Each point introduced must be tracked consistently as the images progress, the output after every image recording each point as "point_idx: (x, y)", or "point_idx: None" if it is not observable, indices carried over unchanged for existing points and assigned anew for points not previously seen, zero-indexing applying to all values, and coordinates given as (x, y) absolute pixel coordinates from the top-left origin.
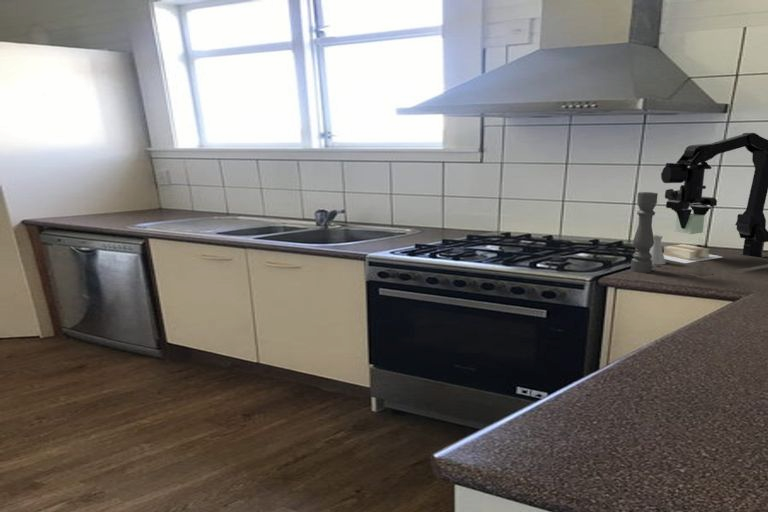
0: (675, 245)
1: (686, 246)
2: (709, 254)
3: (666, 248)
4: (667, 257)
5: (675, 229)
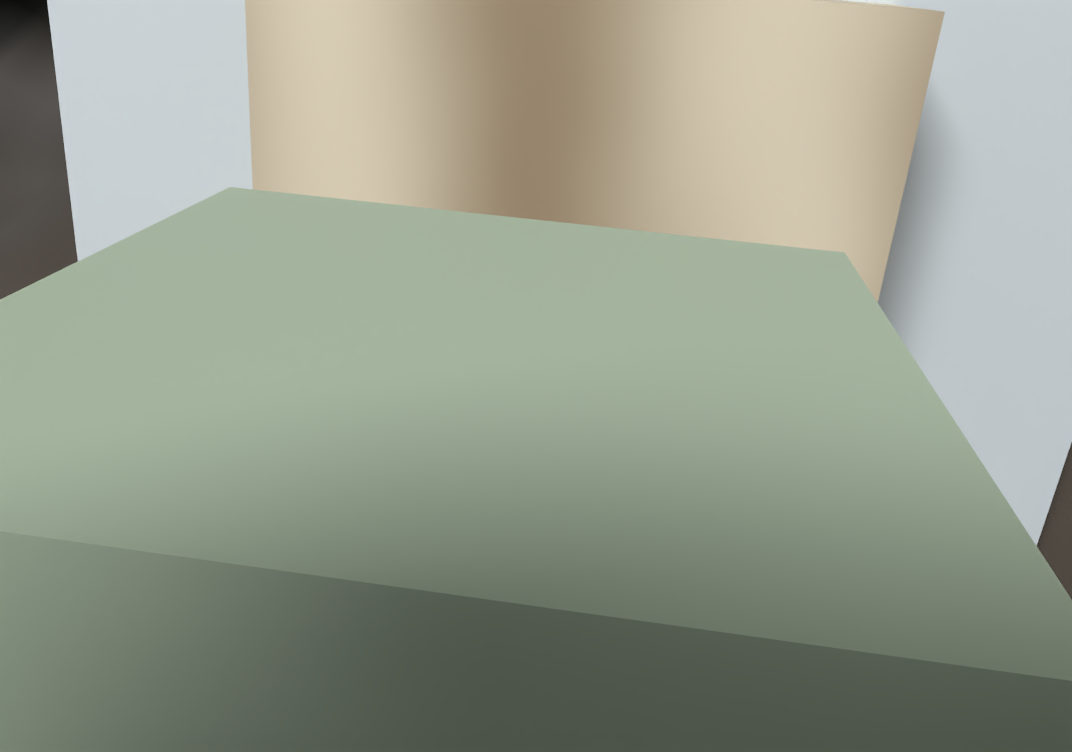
0: (604, 9)
1: (692, 231)
2: (1059, 420)
3: (258, 15)
4: (196, 137)
5: (193, 210)
